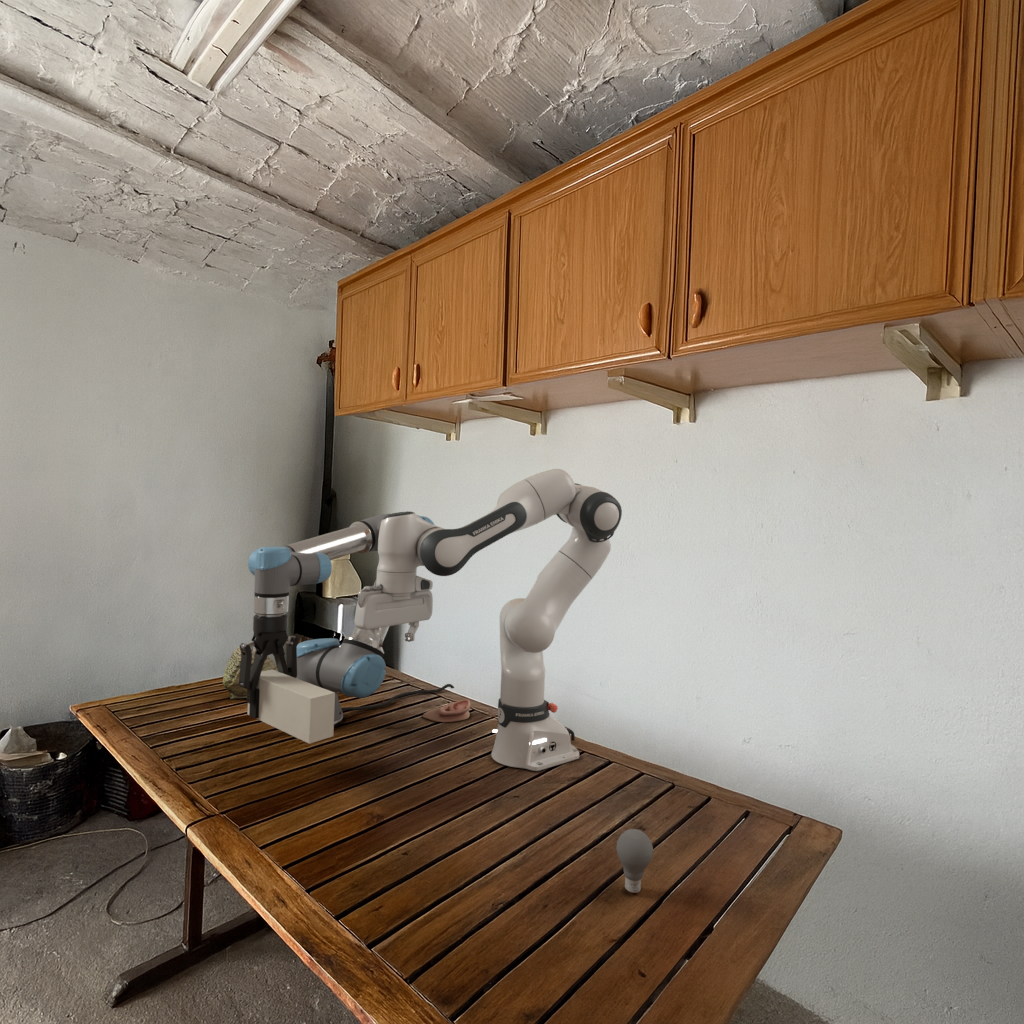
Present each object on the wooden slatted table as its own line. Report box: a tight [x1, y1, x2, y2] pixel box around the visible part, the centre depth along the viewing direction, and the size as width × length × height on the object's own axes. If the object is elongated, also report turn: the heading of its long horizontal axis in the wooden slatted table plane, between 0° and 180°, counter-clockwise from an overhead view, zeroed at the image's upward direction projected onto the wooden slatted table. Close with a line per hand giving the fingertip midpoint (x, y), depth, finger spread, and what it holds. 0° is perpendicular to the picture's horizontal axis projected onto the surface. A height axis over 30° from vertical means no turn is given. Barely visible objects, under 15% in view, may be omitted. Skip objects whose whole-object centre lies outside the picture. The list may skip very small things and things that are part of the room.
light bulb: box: [615, 828, 654, 894], centre depth 106 cm, size 6×6×10 cm
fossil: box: [222, 646, 278, 699], centre depth 198 cm, size 9×18×15 cm, turn 132°
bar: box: [246, 669, 335, 745], centre depth 141 cm, size 25×6×9 cm, turn 51°
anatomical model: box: [422, 699, 472, 723], centre depth 186 cm, size 13×4×12 cm
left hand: (267, 713), depth 147 cm, fingers closed on bar, 6 cm apart
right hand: (393, 644), depth 143 cm, fingers open, 8 cm apart
